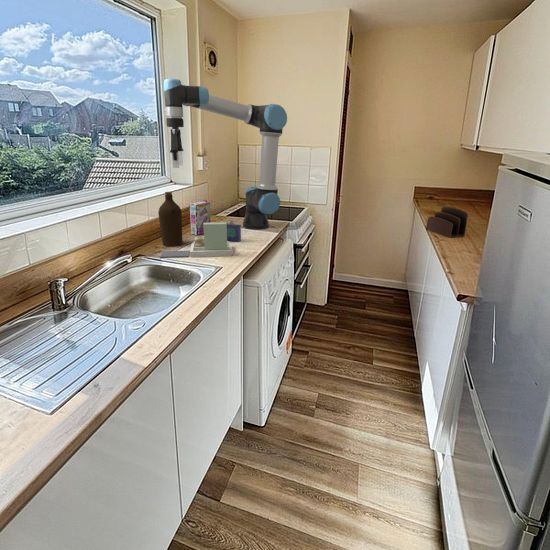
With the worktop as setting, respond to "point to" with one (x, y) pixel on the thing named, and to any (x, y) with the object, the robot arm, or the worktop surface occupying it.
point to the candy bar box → (199, 216)
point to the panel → (215, 236)
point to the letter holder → (448, 222)
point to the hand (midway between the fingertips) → (178, 166)
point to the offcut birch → (199, 241)
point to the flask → (233, 232)
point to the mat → (174, 254)
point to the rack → (210, 251)
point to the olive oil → (170, 221)
